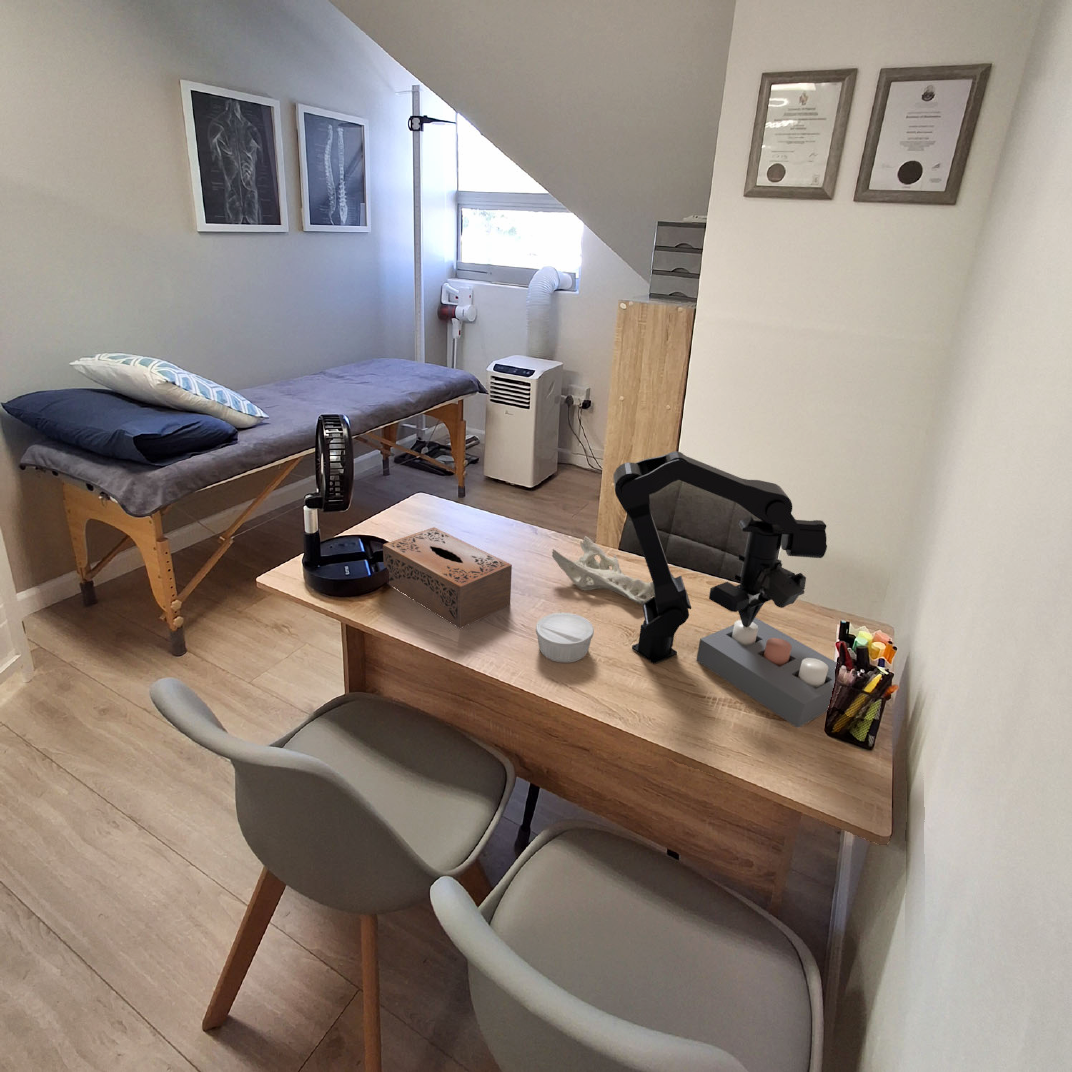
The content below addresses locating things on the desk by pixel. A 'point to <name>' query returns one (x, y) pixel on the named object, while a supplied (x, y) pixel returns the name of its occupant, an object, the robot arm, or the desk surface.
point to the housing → (768, 673)
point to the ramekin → (564, 636)
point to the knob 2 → (813, 672)
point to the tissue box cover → (448, 575)
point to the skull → (602, 573)
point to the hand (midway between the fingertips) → (746, 625)
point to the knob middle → (777, 651)
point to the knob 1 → (744, 633)
